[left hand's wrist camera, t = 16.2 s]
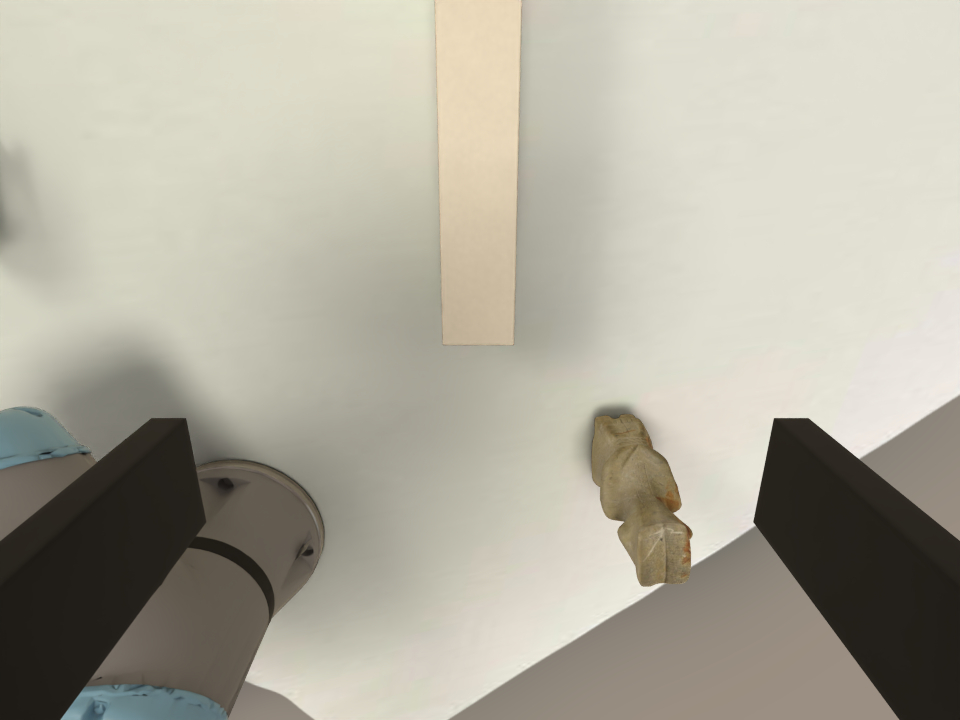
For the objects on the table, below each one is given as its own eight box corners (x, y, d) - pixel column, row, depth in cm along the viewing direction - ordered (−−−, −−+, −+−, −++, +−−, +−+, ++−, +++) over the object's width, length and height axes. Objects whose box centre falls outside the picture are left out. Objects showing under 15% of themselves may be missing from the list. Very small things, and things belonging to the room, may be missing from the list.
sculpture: (579, 476, 52) (616, 597, 38) (582, 405, 49) (623, 506, 35) (643, 475, 52) (704, 595, 38) (649, 403, 49) (716, 503, 35)
